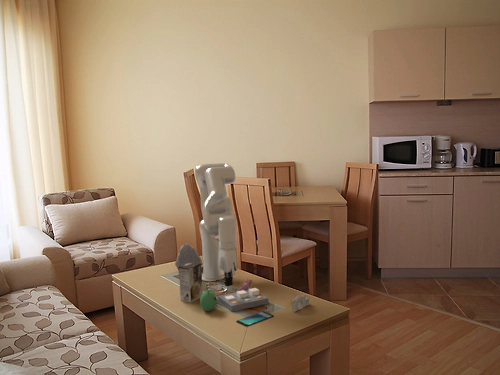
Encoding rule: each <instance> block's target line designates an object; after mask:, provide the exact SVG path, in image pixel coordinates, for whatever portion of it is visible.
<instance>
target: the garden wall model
mask: <svg viewBox="0 0 500 375" xmlns="http://www.w3.org/2000/svg"><path fill="white" fill-rule="evenodd" d="M310 299H311V297H307V295H306V293H305V294H302V295H296V296H295V298H294V299H293V300H290V302H291V312H292V313H296V312H297V311H301V310H302V309H303V308H305V307H306V306H307V307H308V306H309V305H310ZM300 309H301V310H300Z"/></svg>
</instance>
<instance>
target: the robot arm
mask: <svg viewBox="0 0 500 375" xmlns="http://www.w3.org/2000/svg"><path fill="white" fill-rule="evenodd" d="M194 176H195V177H194V178H195V180H196V182H197V185H198V187H199V193H200V196H199V197H200V210H201V214H202V220H200V222H199V226H198V228H199V233H200V238H201V250H202V251H201V253H202V254H201V256H202V258H201V259H202V263H203V264H202V282H217V281H216V280H219V281H221V280H223V279H224V286H226V287H231V286H234V276H235V275H236V272H237V271H238V258H237V251H236V249H237V223H236V222H237V221H236V220H237V219H236V216H235V215H234V214H233V203H232V200H231V198H230V197H229V196H227V195H228V194H227V193H228V192H227V189H226V185H228V184H234V183H235V182H236V172H235V170H234V167H233V166H231V165H230V164H229V163H225V162H223V163H204V164H198V165H197V166H196V167H195V169H194ZM216 237H218V239H216ZM222 271H223V273H222Z"/></svg>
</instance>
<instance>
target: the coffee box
mask: <svg viewBox="0 0 500 375" xmlns="http://www.w3.org/2000/svg"><path fill="white" fill-rule="evenodd" d="M202 274H203V272H202V266H201V263H197V262H188V263H186V264H184V265H182V266H179V270H178V275H179V277H178V278H179V296H180V299H179V300H180V301H182V302H185V303H191V304H192V303H194V302H195V301H197V300H200V297H201V295H202V294H203V293H204V291H203V280H202Z"/></svg>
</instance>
